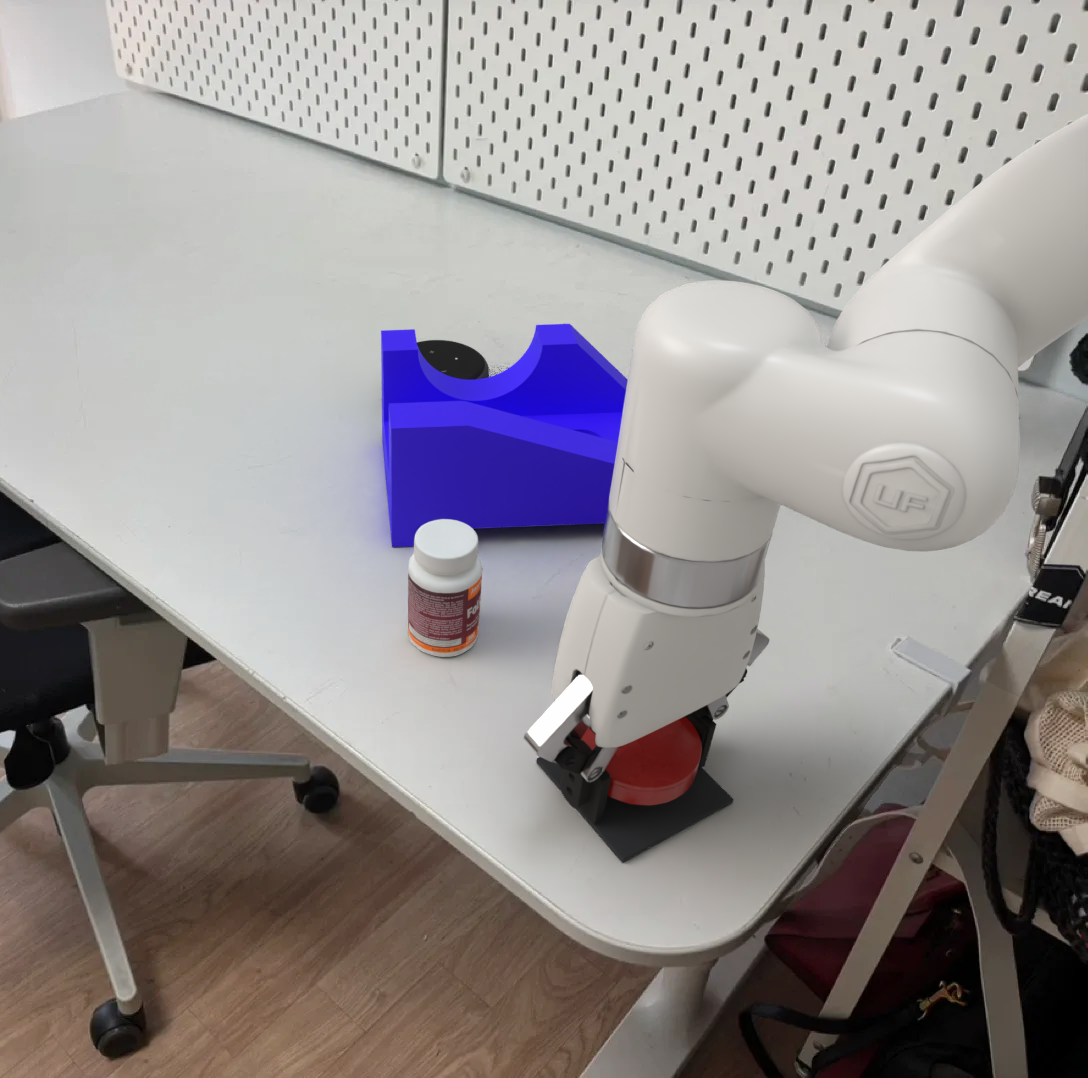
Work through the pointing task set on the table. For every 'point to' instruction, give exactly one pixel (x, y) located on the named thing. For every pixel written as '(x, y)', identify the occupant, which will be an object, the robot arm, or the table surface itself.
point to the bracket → (500, 436)
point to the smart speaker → (454, 359)
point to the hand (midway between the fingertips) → (632, 776)
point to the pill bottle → (444, 588)
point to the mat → (650, 814)
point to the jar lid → (654, 764)
